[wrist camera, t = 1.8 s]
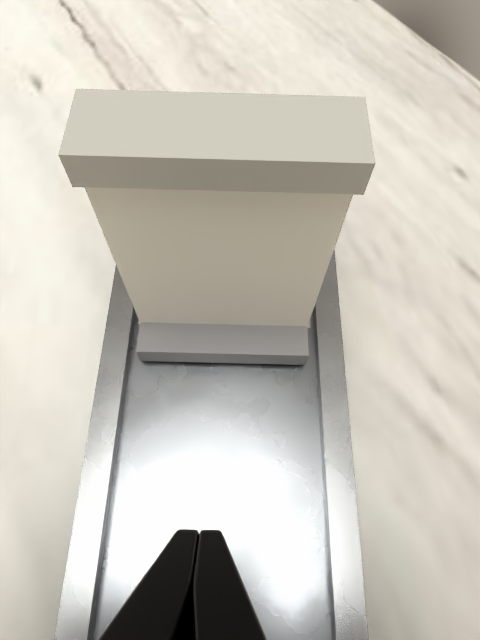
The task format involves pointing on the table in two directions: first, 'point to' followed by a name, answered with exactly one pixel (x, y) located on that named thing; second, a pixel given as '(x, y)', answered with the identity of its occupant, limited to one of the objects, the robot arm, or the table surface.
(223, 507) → the tray
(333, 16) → the table surface
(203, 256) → the fader paddle
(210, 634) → the robot arm
